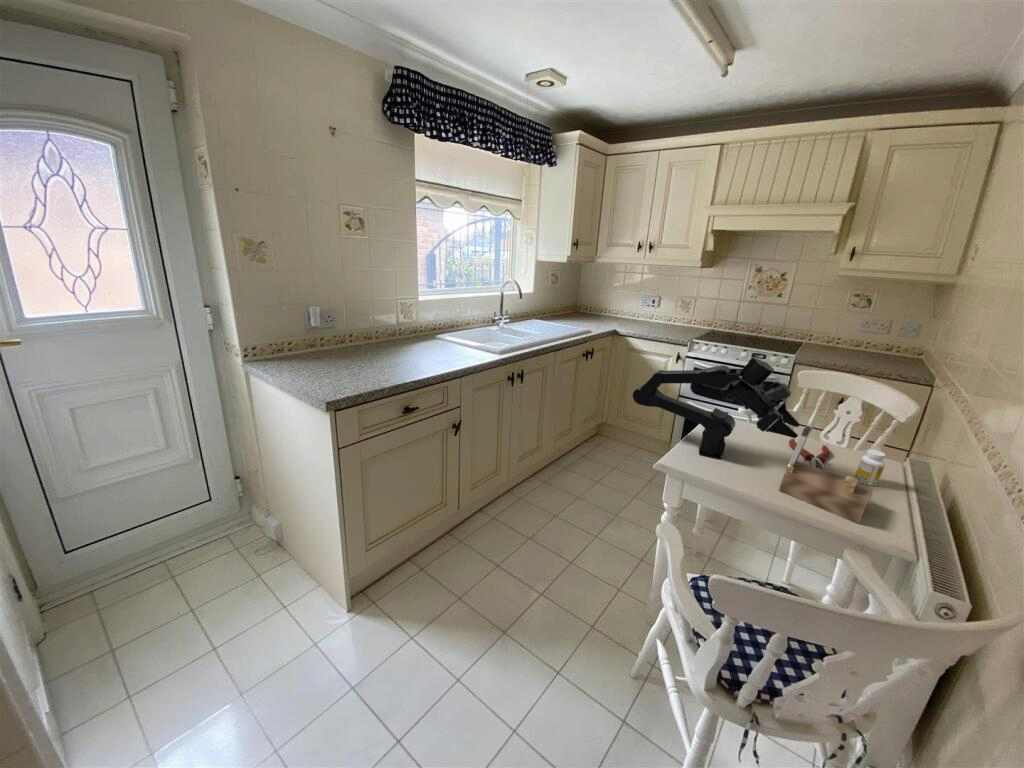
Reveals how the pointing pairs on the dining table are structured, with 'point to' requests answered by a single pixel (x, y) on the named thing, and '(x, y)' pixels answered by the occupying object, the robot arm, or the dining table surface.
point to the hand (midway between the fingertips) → (797, 431)
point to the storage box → (827, 490)
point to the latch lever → (799, 446)
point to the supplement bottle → (870, 467)
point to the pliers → (808, 456)
